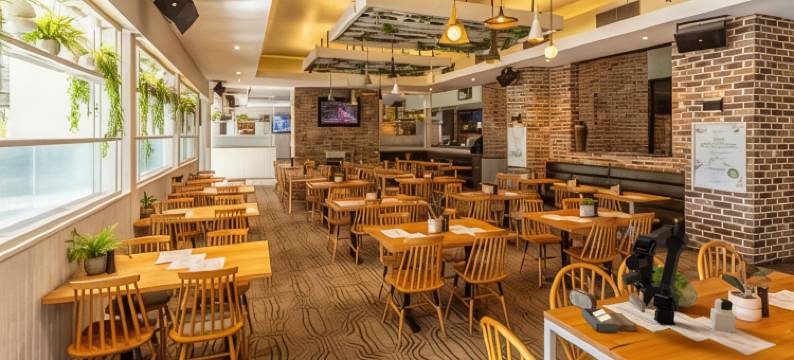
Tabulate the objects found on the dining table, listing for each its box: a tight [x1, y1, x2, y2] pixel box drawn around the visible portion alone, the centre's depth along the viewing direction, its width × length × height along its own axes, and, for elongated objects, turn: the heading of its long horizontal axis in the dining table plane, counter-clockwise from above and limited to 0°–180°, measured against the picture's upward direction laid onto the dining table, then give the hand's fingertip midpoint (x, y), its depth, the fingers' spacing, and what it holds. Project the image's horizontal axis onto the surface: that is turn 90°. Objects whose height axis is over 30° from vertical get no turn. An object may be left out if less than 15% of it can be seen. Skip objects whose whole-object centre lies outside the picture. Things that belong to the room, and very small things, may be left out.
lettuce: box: [651, 266, 698, 308], centre depth 228 cm, size 19×23×18 cm
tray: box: [581, 307, 617, 333], centre depth 206 cm, size 8×18×4 cm, turn 177°
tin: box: [568, 287, 598, 310], centre depth 225 cm, size 15×3×8 cm, turn 23°
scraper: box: [628, 289, 654, 314], centre depth 197 cm, size 6×13×7 cm, turn 175°
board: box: [606, 312, 636, 332], centre depth 206 cm, size 8×14×2 cm, turn 177°
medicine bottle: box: [709, 298, 737, 333], centre depth 202 cm, size 7×7×12 cm
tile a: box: [593, 308, 607, 322], centre depth 209 cm, size 4×4×2 cm
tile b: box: [598, 314, 614, 323], centre depth 203 cm, size 4×4×2 cm
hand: (643, 304), depth 197 cm, fingers closed on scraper, 4 cm apart
